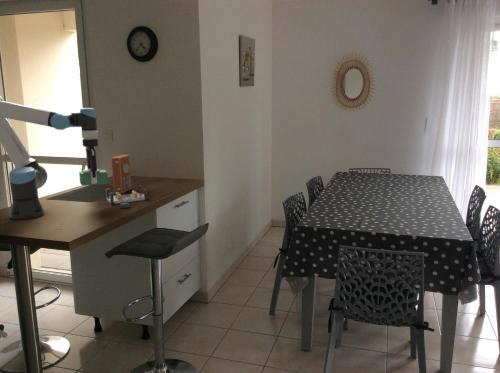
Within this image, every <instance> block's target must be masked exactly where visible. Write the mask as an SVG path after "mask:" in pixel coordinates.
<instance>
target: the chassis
mask: <svg viewBox="0 0 500 373" xmlns="http://www.w3.org/2000/svg"><path fill="white" fill-rule="evenodd" d="M137 186H138V192H137V191H136V190H131V193H128V194H122V193H119V192H117V193H115V195H114V192H110V188H105V197H106V201H107V202H108V203H109V204H110V205H116V204H121V203H131V202H140V201H148V200H149V199H148V198H149V197H148V189H147V188H143V186H142V185H141V184H139V185H137Z"/></svg>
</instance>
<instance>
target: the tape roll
mask: <svg viewBox="0 0 500 373" xmlns="http://www.w3.org/2000/svg"><path fill="white" fill-rule="evenodd" d="M130 204H131V202H125V203H119V208H120V209H123V210H125V209H128V208H130V207H131V205H130Z"/></svg>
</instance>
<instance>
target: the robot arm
mask: <svg viewBox="0 0 500 373" xmlns="http://www.w3.org/2000/svg"><path fill="white" fill-rule="evenodd" d="M9 120H14V121H18V122H19V121H20V122H25V123H29V124H35V125H41V126H45V127H49V128H53V129H55V130H58V131H62V130H63V131H64V130H65V129H67V128H81V138H82V146H83V147H85V148H86V149H85V150H86V151H85V152H86V160H87V164H86V165H87V170H90V172H91V183H92V184H93V185H97V184H96V183H97V173H96V170H97V169H98V168H97V154H96V153H97V152H96V149H95V147H98V146H99V139H98V134H99V131H98V122H97V113H96V109H95V108H94V107H82V108H80V110H79V111H76V112H73V111H65V112H64V111H61V112H60V111H59V112H58V111H57V112H56V111H52V110H49V109H42V108H37V107H35V106H34V107H32V106H29V105H22V104H18V103H14V102H9V101H4V99H3V98H2V96H1V95H0V144H1V147H3V149H4V151H5V152H6V154H7V156H8V157H9V159H10V161H11V162H12V164H13V166H14V168H13V169H12V170H10V171H9V174H8V175H9V177H8V179H9V185H10V192H11V201H12V203H11V207H10V211H9V218H10V219H11V218H12V219H11V220H15V219H17V220H18V221H21V220H22V221H23V220H31V219H35V218H40V217H42V216H44V215H45V211H44V210H45V209H44V208H43V205H42V203H41V202H40V200H39V191H38V189H40V188H43V187H44V185H45V184H46V183H47V180H48V172H47V170H46V168H44V166H41V165H40V164H39V162H38V161H37V160H36V159H34V158H32V157H31V155H30V153H29V152H28V151H27V149H26V147H25V145H24V144H23V143H22V140H21V139H20V137H19V136H18V134H17V133H16V131H15V130H14V128H13V126H12V124H11V123H10V121H9ZM17 220H16V221H17Z"/></svg>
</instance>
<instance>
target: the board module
mask: <svg viewBox="0 0 500 373" xmlns="http://www.w3.org/2000/svg"><path fill="white" fill-rule="evenodd" d="M96 173H97V183H96V184H95V185H103V184H108V183H109V178H108V171H107V170H105V169H99V168H97V170H96ZM78 174H79V184H80V185H81V186H91V185H92V186H93V185H94V184H92V183H91V172H90V170H88V169H82V171H79V172H78Z"/></svg>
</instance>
